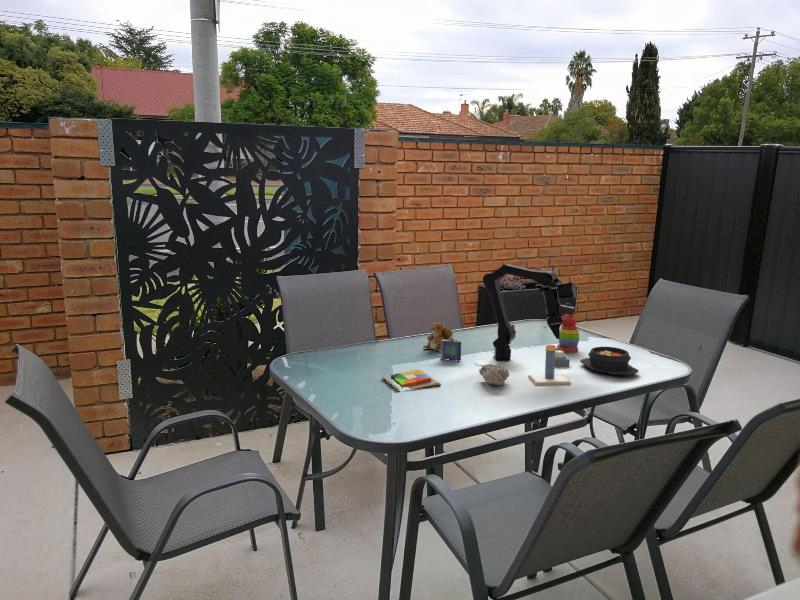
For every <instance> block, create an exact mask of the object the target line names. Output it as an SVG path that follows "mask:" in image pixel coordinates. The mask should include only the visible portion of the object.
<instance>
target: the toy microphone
mask: <svg viewBox="0 0 800 600" xmlns="http://www.w3.org/2000/svg"><path fill="white" fill-rule="evenodd" d="M556 348H557V345H552V344H547V345H545V362H544V363H545V365H544V366H545V367H544V374H545V378H546V379H554V374H555V368H556V366H555V351H556Z"/></svg>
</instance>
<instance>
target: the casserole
mask: <svg viewBox="0 0 800 600" xmlns="http://www.w3.org/2000/svg"><path fill="white" fill-rule="evenodd" d="M587 355H588V357H586V358H583V359H580V361H579V362H580V363H581V364H583V365H584V366H586V367H587V368H589V369H590V370H593V371H596V372H598V373H601V374H605V373H606V374H607V375H618V376H631V375H635V374H638V373H639V369H637V368H635V367H634V366H632V365H631V364H629V362H630V360H631V359H632V357H631V356H630V352H629V351H627V350H625V349H622V348H620V347H614V346H595V347H592V348H591V349H590V351H589V352H588V354H587Z"/></svg>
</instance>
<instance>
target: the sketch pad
mask: <svg viewBox="0 0 800 600" xmlns="http://www.w3.org/2000/svg"><path fill="white" fill-rule="evenodd" d="M528 379H529V380H530V379H531V380H532V381H531V380H530V381H531V382H532V383H533V384H534V385H535V386H568V385H571V384H572V382H571V381H570V379H568V378H567V377H566V376H565V375H564V374H563V373H560V374H559V373H556V374H555V373H554V379H546V378H545V373H544V374H528Z"/></svg>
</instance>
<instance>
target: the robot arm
mask: <svg viewBox="0 0 800 600" xmlns="http://www.w3.org/2000/svg"><path fill="white" fill-rule="evenodd" d="M507 275H511V276H515V277H519V278H523V279H528V280H530V281H534V283H537V284H539V285H540V288H539V289H538V290H537V293H540V292H541V293H543V298H544V305H545V306H544V307H545V310H546V317H547V318H546V323H547V326H548V327H549V329H550V330H551V333H552V334H553V336H554V337H555V339H556V340H559V336H560V328H561V326H562V325H563V324H562V323H563V320H562V317H563V314H564V315H565V314H568V315H571V316H573V314H574V313H575V307H574V306H572V305H571V303H570V302H567V303H566V304H561V302H560V301H559V299H561V300H569V299H576V298H577V295H578V292H577V288H576V285H575V284H574V281H568V282H564V283H563V282H562V281H561V280H560V279H559V278H558V277H557V275H556V273H555V272H554V270H543V269H541V270H540V269H539V270H537V269H536V270H535V269H532V268H526V267H523V266H518V265H513V264H510V263H505V264H503V265H501V267H499V268H497V269H496V270H493V271H492V272H488V273H486V274H484V275H483V277H482V282H483V285H484V287H485V289H486V290H487V292H488V293H489V295H490V298H491V302H492V303H491V304H492V307H493V311H494V314H495V318H496V320H497V338H496V339H495V340H494V341H493V342H492V345H493V348H494V350H493V351H494V353H493V354H494V355H493V358H494V359H495V361H497V362H498V361H511V358H512V349H511V343H512V342H513V341H514V340H515V339H516V337H517V336H516V334H517V332H516V329H515V327H516V326H515V324H511V323H510V322H509V320H508V315H507V311H506V307H505V304H504V301H503V296H502V293H501V287H502V281H501V279H503V278H504V277H505V276H507Z"/></svg>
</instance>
